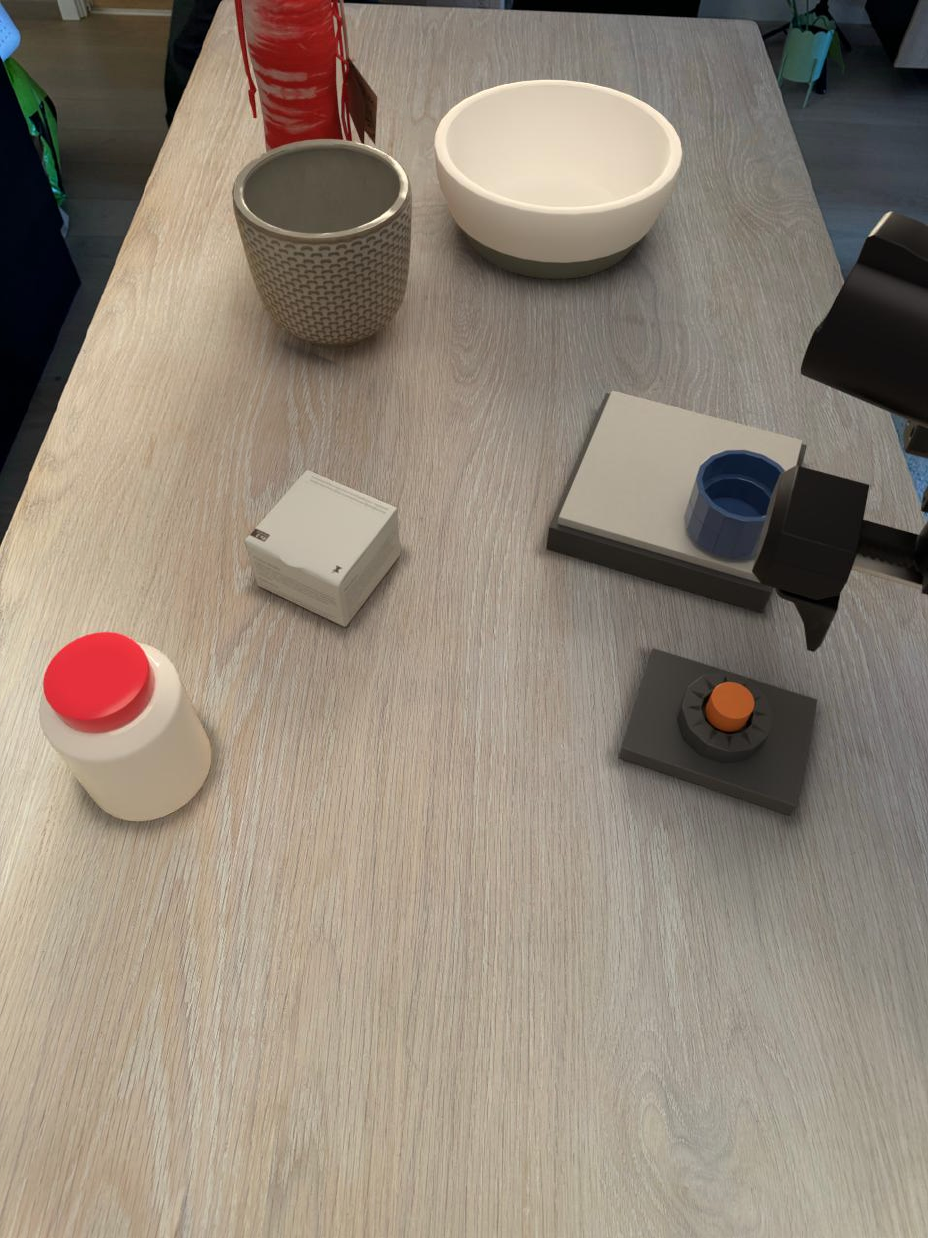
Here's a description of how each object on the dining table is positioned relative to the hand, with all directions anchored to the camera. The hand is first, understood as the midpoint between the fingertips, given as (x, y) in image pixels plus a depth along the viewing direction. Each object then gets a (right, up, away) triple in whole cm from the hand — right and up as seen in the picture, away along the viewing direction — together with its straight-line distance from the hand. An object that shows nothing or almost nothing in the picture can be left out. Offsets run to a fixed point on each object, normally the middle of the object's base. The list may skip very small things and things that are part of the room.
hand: (899, 670), depth 50 cm
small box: (-33, +6, +18) cm, 38 cm away
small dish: (-4, +9, +17) cm, 20 cm away
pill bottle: (-43, -6, +10) cm, 44 cm away
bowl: (-15, +41, +42) cm, 61 cm away
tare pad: (-7, -5, +11) cm, 14 cm away
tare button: (-7, -3, +9) cm, 12 cm away
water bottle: (-36, +43, +43) cm, 71 cm away
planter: (-34, +29, +34) cm, 56 cm away
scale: (-7, +11, +22) cm, 26 cm away
